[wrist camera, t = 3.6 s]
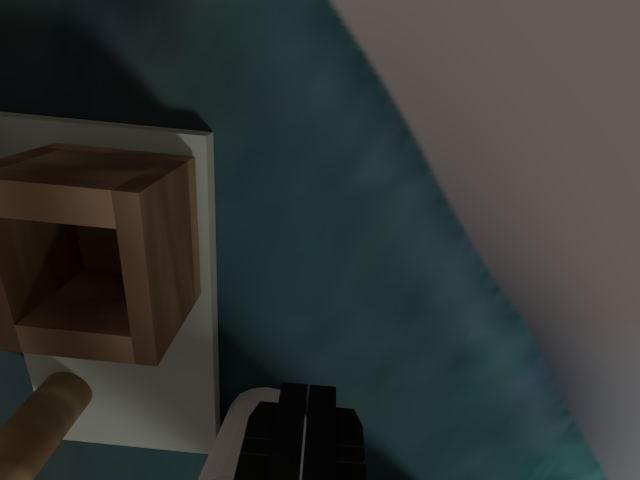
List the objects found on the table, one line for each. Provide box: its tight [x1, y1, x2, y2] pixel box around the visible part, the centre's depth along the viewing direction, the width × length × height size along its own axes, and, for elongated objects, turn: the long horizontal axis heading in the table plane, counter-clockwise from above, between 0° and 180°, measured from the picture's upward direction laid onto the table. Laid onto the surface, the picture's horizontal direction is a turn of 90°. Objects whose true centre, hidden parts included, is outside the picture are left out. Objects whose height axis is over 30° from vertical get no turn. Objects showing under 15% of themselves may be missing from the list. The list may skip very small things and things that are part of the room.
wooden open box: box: [0, 143, 201, 367], centre depth 18 cm, size 7×8×6 cm
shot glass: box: [198, 387, 306, 480], centre depth 26 cm, size 7×7×7 cm
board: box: [0, 111, 220, 454], centre depth 25 cm, size 12×23×1 cm, turn 175°
